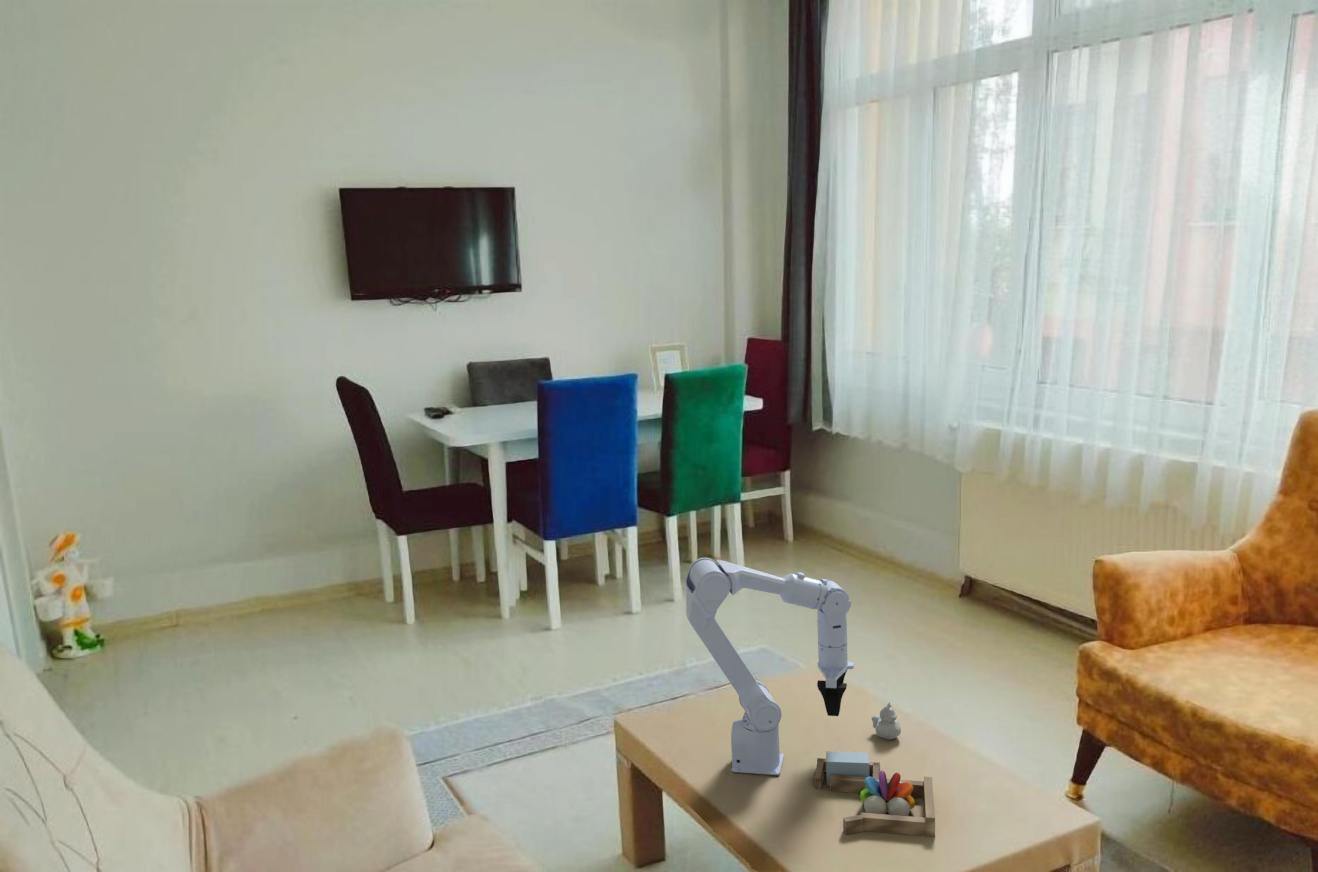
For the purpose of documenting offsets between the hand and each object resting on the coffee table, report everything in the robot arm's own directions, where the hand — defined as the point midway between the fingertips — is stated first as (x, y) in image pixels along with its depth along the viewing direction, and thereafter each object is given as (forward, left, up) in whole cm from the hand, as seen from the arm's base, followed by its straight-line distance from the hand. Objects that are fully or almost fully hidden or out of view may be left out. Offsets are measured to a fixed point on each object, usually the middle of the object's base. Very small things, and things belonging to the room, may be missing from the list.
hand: (834, 706), depth 193 cm
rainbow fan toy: (+10, -18, -11) cm, 24 cm away
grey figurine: (+10, +9, -11) cm, 17 cm away
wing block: (+3, -10, -11) cm, 15 cm away
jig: (+8, -17, -10) cm, 21 cm away
